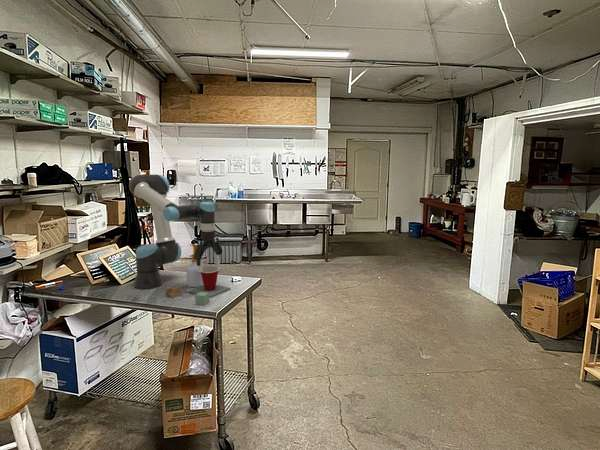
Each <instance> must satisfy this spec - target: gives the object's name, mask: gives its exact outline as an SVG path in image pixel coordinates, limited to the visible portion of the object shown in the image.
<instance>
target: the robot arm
mask: <svg viewBox="0 0 600 450" xmlns="http://www.w3.org/2000/svg"><path fill="white" fill-rule="evenodd" d="M128 187H129V190H130V193H132V195H133V196H134V197H136V198H139V199H143V201H145V202H147V203H148V204H149V205H150V208H151V212H152V219H153V224H154V229H155V234H156V241H155V243H148V244H143V245H140V246H138V247H136V249H135V255H134V256H135V264H136V276H135V278H134V279H135V280H134V283H133V286H134V288H135V287H136V288H135V289H137V288H139V289H138V290H150V289H155V288H159V287H161V286H162V285H163V279H162V277H161V274H160V271H159V266H163V265H166V264H173V263H175V262H177V261H178V260H180V258H181V256H182V246H181V245H180V243H179V242H176V239H175V238H174V237H173V235H172V229H171V224H170V222H177V221H183V220H193V219H198V220H199V219H200V230H201V232H200V238H201V239H202V240H198V241H197V244H196V245H197V248H196V251H195V254H194V258H192V260H193V259H196V260H197V266H198V271H199V272H202V267H203V259H202V258H203V256H204V254H205V252H206V250H208V249H209V248H211V249H212V251H213V252H214V253H215V254H214V266H217V267H220V266H221V265H220V262H221V261H220V260H221V256H222V253H223V252H224V251H223V249H222V245H221V243H220V241H219V237H217V236H216V231H215V230H216V208H215V207H216V206H215V203H214V202H213V201H202V202H200V203H199V204H193V203H191V204H186V205H177V204H175V203H174V202H173V201H171V200H169V198H166V197H167V196H168V193H169V191H170V187H171V185H170V182H169V180H168V178H167V177H166V176H165V175H162V174H138V175H135V176H133V177H132V178H131V179H130V181H129V184H128Z"/></svg>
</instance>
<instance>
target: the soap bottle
mask: <svg viewBox="0 0 600 450" xmlns="http://www.w3.org/2000/svg"><path fill="white" fill-rule="evenodd" d="M189 246H192V247H193V249H192V250H193V254H191V255H189V257H190V258H192V259H191V264H190V265H188V266H187V267H186V285H187V287H188V288H198V287H201V286H204V284H203V280H202V275H201V272H199V271H198V266H197V260H196V259H193V258H194V254H195V251H196V248H197V244H193V243H190V244H189Z"/></svg>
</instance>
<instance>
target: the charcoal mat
mask: <svg viewBox="0 0 600 450" xmlns="http://www.w3.org/2000/svg"><path fill="white" fill-rule="evenodd" d="M230 290H231V287H229V286H223V285H218V284H216V288H215V290H212V291H207V290H205V289H204V285H202V286H200V287H195V288H193V289H190V290H188V293H189V294H193V295H196V294H198V293H199V292H207V293H209V299H212V298H214V297H216V296H218V295H221V294H223V293H226V292H228V291H230Z"/></svg>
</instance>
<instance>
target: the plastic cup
mask: <svg viewBox="0 0 600 450" xmlns="http://www.w3.org/2000/svg"><path fill="white" fill-rule="evenodd" d="M219 271H220V266H215V265H207V266H202V272H201V275H202V280H203V286H204V289H205V290H207V291H212V290H215V288H216V285H217V281H218V274H219Z"/></svg>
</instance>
